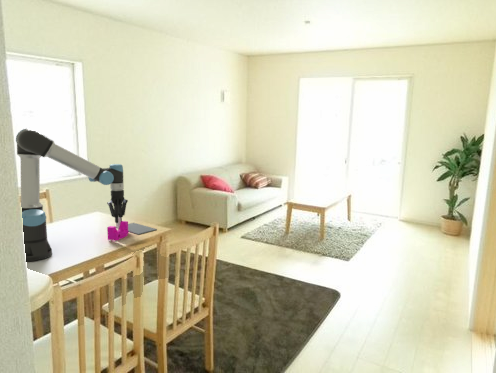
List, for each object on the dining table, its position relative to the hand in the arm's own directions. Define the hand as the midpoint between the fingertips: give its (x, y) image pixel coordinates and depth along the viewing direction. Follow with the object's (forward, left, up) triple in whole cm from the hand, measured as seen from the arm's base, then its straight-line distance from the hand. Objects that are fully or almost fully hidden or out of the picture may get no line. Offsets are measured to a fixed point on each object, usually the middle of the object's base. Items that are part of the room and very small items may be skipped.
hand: (118, 227), depth 224 cm
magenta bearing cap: (-3, -7, -4) cm, 8 cm away
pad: (+12, 0, -4) cm, 13 cm away
